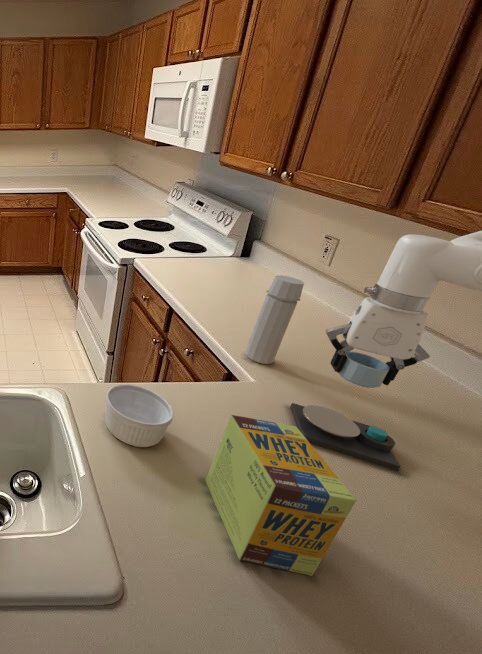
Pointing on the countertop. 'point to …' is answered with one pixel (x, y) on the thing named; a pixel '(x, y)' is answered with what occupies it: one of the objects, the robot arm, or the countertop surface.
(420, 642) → the countertop surface
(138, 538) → the countertop surface
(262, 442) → the protein box
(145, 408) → the ramekin
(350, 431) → the scale plate
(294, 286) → the water bottle
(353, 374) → the bowl
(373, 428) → the tare button
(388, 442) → the scale
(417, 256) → the robot arm
